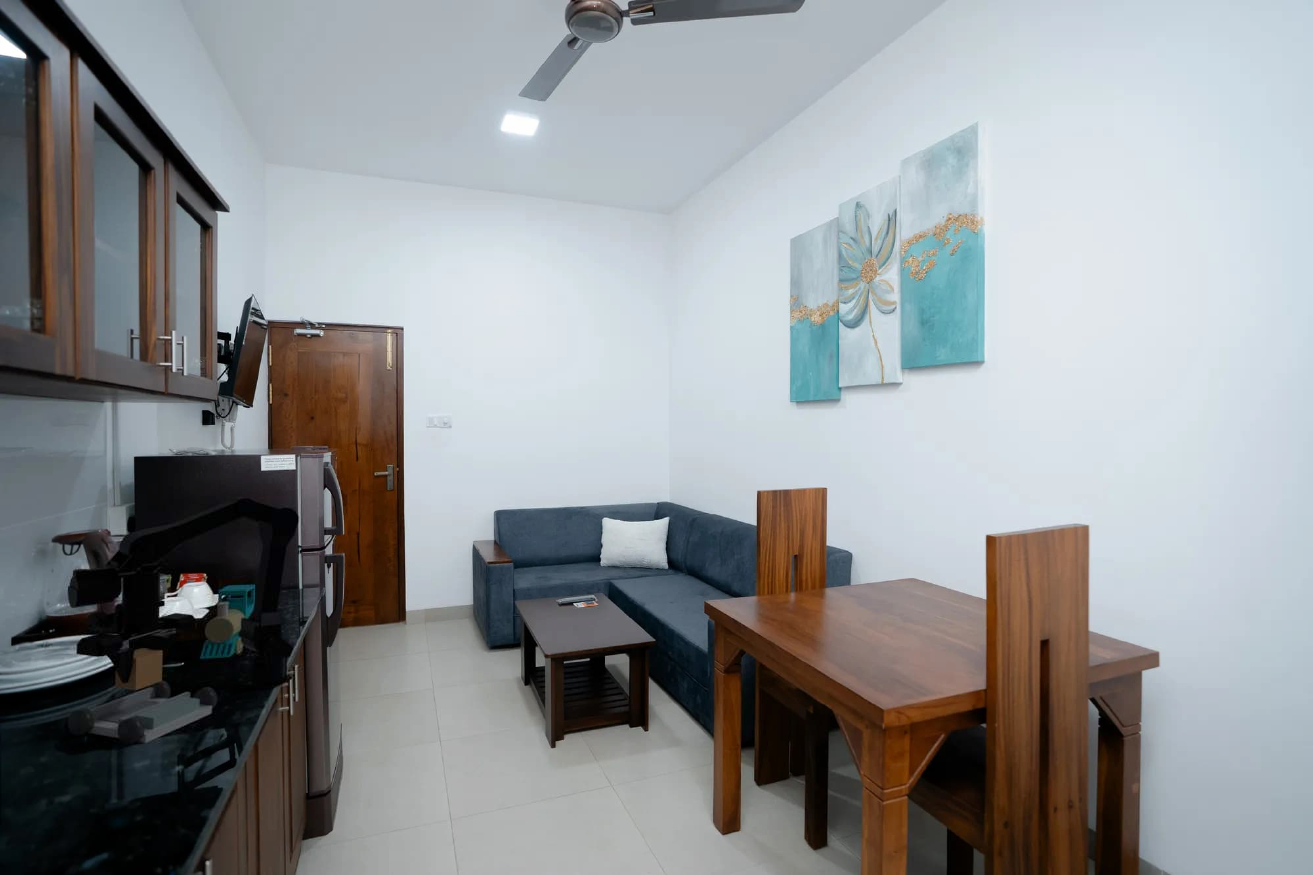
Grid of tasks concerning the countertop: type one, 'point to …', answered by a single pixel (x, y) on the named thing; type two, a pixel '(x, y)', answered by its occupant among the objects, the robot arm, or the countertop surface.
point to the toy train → (228, 622)
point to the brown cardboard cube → (143, 669)
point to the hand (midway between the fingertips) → (139, 677)
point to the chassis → (143, 714)
